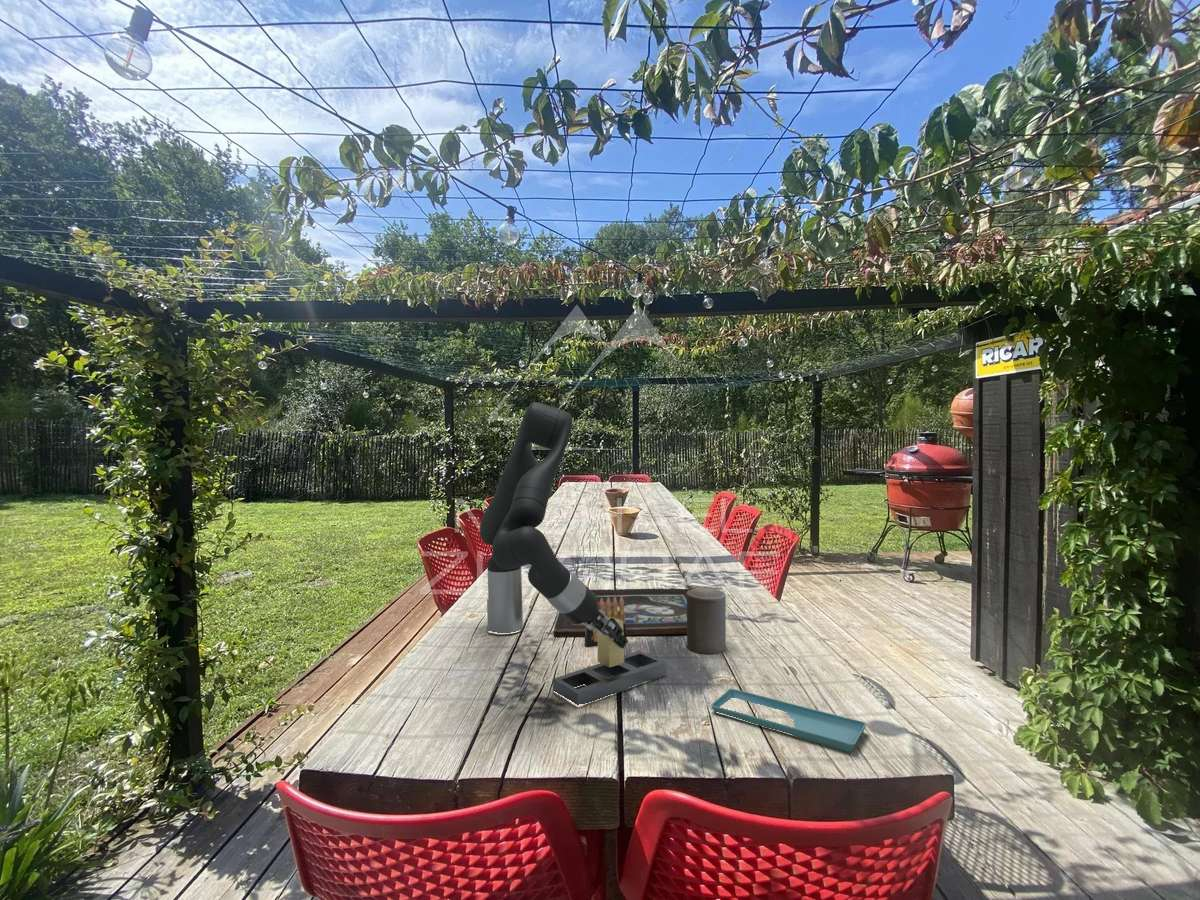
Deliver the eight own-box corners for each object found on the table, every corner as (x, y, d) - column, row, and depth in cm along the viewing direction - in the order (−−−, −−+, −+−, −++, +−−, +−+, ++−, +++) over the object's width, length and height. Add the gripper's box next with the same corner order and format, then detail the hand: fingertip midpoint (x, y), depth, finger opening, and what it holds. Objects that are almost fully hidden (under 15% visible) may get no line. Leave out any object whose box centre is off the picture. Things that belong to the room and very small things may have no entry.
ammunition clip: (625, 640, 152) (624, 594, 152) (626, 643, 150) (625, 596, 150) (584, 644, 150) (583, 598, 149) (586, 647, 148) (585, 600, 148)
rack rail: (577, 708, 115) (577, 693, 115) (553, 692, 122) (552, 678, 122) (666, 675, 130) (666, 662, 130) (639, 663, 137) (639, 650, 137)
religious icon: (723, 636, 154) (723, 624, 154) (553, 640, 155) (553, 629, 155) (700, 594, 194) (700, 585, 194) (565, 598, 195) (564, 589, 195)
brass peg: (609, 667, 123) (608, 625, 123) (598, 662, 126) (597, 620, 126) (624, 662, 125) (623, 621, 125) (612, 657, 129) (611, 616, 128)
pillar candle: (683, 652, 143) (682, 591, 143) (690, 638, 152) (690, 581, 152) (723, 657, 140) (723, 595, 139) (728, 642, 149) (728, 584, 148)
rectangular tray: (709, 715, 112) (709, 702, 112) (730, 697, 119) (730, 685, 119) (854, 759, 96) (854, 745, 96) (867, 736, 103) (867, 722, 103)
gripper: (601, 588, 115) (648, 635, 123) (561, 575, 126) (607, 619, 134) (580, 620, 112) (630, 666, 120) (541, 604, 123) (589, 647, 131)
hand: (617, 641), depth 127 cm, fingers closed on brass peg, 4 cm apart
